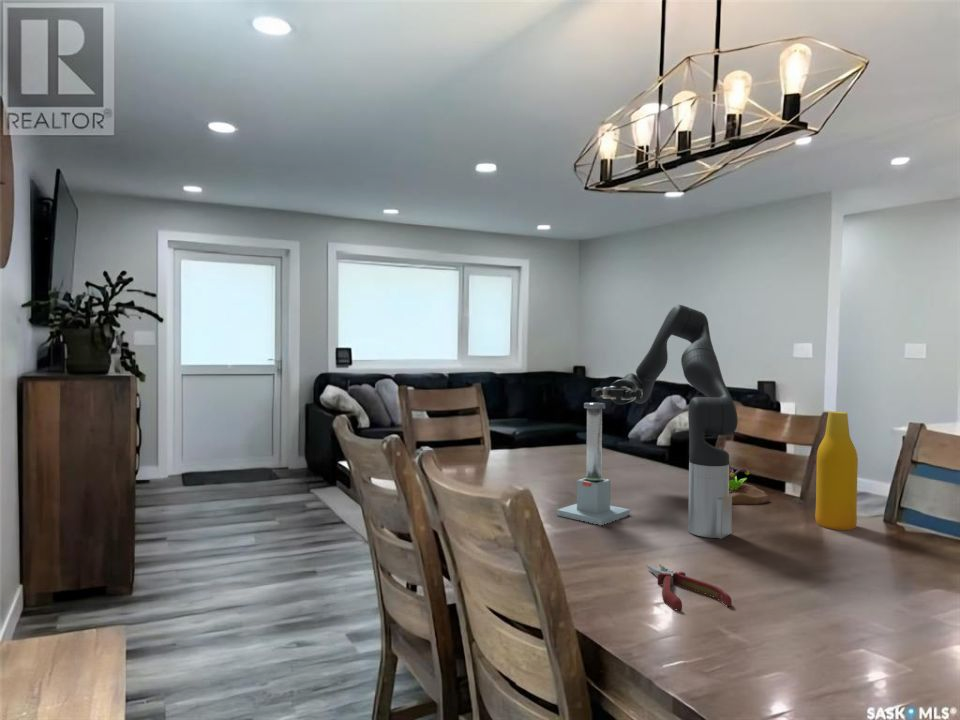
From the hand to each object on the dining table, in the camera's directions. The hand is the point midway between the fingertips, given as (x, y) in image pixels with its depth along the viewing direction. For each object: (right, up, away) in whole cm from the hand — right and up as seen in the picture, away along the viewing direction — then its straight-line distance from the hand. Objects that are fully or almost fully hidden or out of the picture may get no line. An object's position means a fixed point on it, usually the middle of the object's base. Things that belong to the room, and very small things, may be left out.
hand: (611, 394), depth 180 cm
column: (-7, -23, -10) cm, 26 cm away
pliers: (+2, -34, -61) cm, 70 cm away
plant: (+39, -32, +12) cm, 52 cm away
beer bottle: (+54, -33, -19) cm, 65 cm away
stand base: (-7, -32, -10) cm, 34 cm away
